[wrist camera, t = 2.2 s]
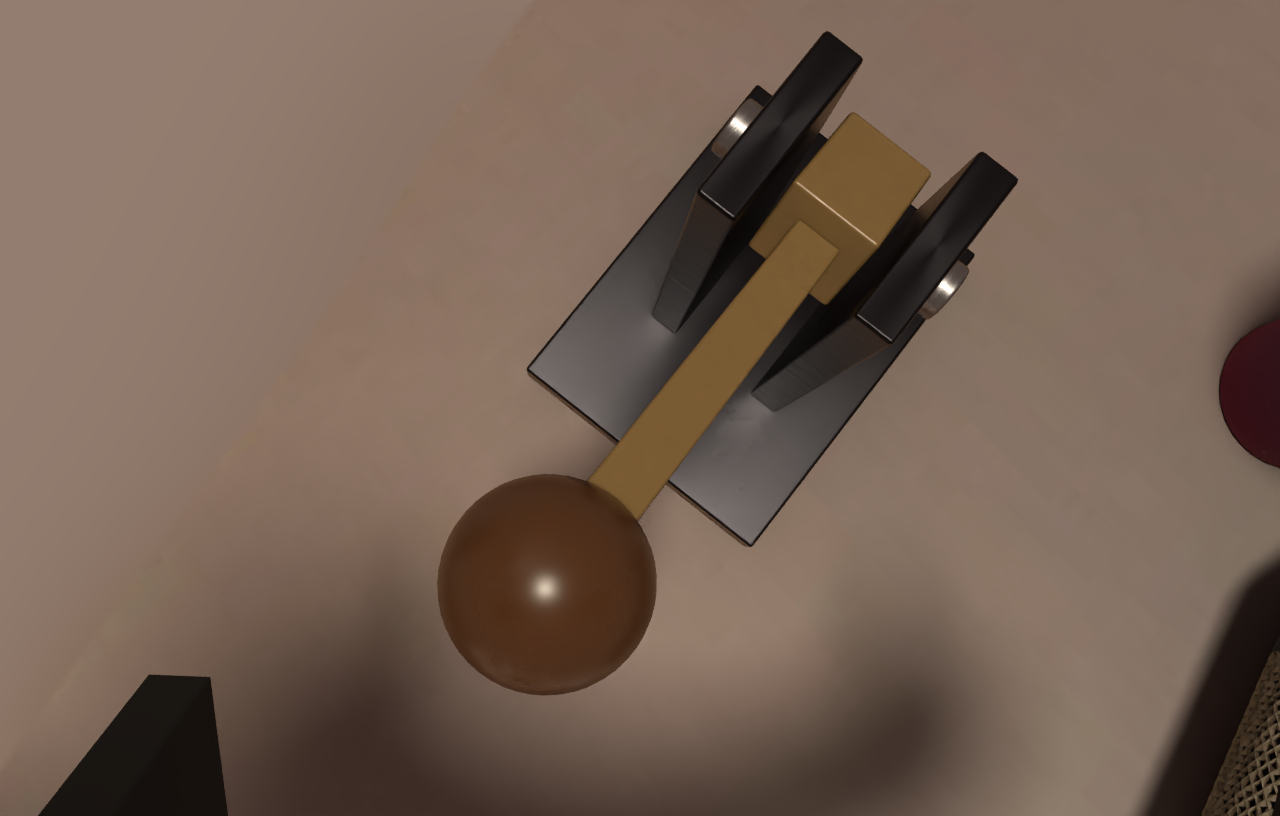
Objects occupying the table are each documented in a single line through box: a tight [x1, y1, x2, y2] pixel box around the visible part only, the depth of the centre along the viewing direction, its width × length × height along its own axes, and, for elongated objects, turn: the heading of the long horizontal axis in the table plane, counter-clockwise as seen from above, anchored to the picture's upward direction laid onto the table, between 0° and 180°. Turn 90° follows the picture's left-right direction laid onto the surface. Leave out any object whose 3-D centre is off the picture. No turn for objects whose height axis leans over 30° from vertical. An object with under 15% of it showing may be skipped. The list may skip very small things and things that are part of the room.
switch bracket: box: [527, 31, 1018, 547], centre depth 31 cm, size 12×9×15 cm
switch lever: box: [437, 112, 931, 695], centre depth 22 cm, size 14×4×4 cm, turn 142°
